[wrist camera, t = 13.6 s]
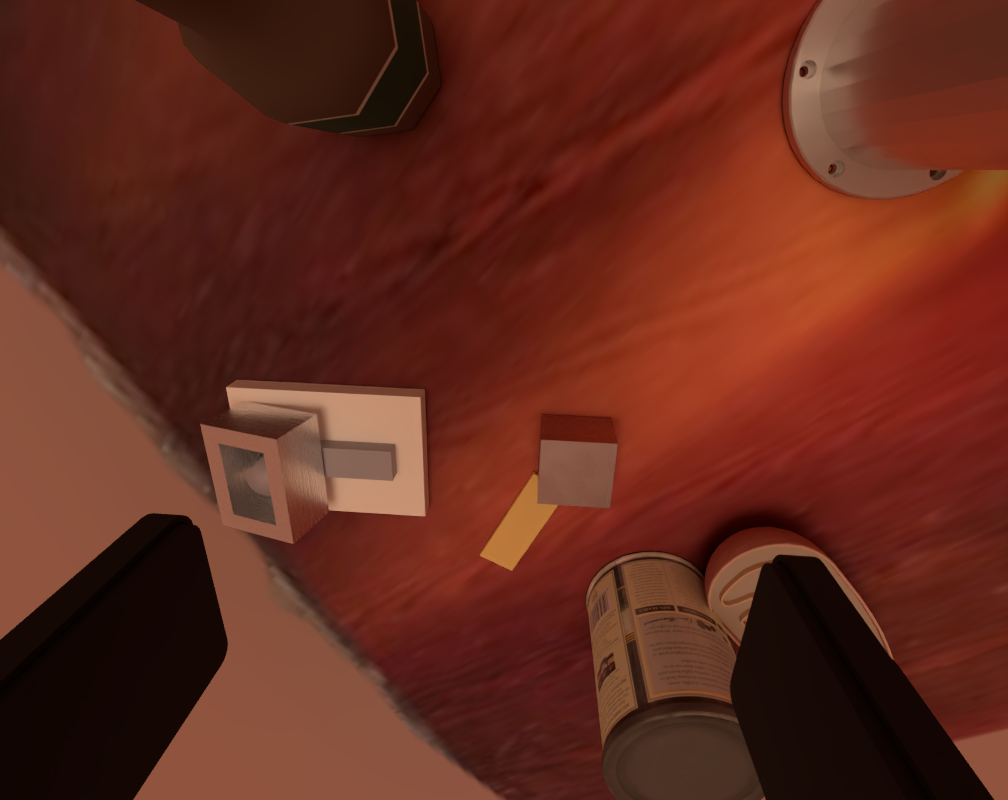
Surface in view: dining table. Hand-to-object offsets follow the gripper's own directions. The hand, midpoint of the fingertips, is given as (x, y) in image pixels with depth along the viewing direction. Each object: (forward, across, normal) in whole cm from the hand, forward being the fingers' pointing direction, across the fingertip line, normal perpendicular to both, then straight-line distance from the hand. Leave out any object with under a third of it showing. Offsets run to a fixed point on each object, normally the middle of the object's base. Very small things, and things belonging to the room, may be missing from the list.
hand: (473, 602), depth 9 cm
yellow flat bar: (+28, 0, +19) cm, 34 cm away
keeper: (+28, +14, +13) cm, 34 cm away
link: (+26, +17, +13) cm, 34 cm away
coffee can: (+28, -11, +26) cm, 40 cm away
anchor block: (+28, -4, +12) cm, 31 cm away
